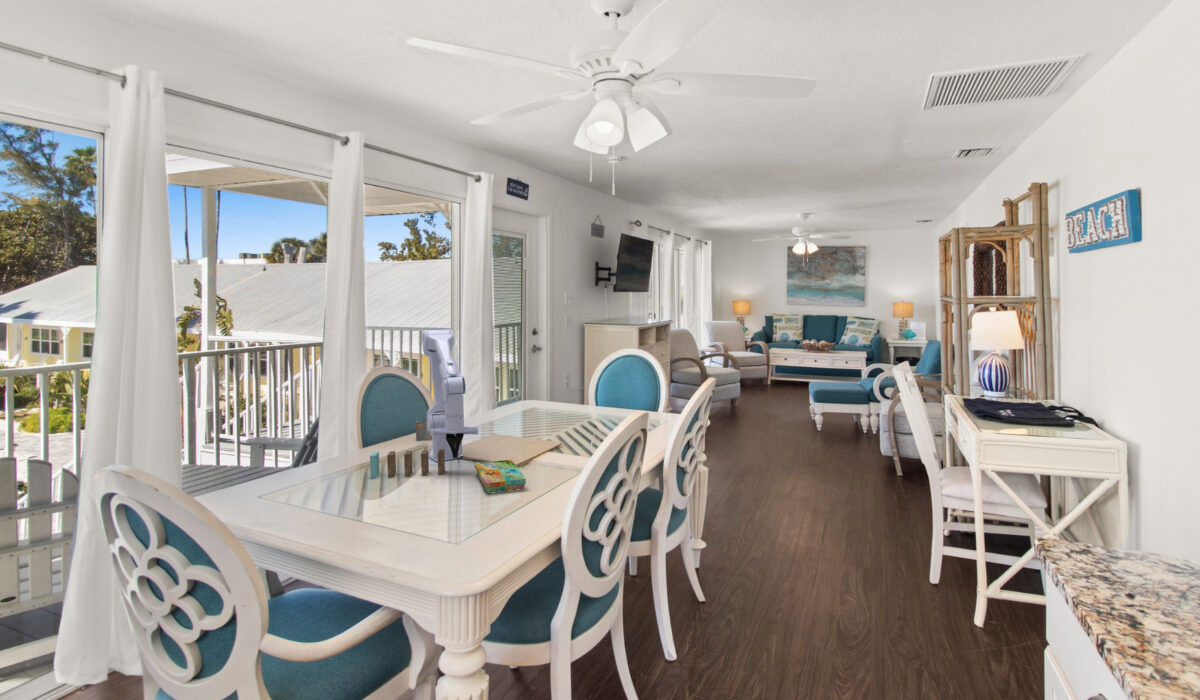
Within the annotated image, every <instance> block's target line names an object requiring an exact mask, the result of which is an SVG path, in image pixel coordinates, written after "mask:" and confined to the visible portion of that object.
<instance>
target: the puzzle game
mask: <svg viewBox="0 0 1200 700" xmlns="http://www.w3.org/2000/svg"><path fill="white" fill-rule="evenodd" d="M474 470H475V471H476V473H477V476H479V479H480V481H481V483H482V485H483V487H484V490H485V491H486V492H487V494H493V493H492V492H498V493H500V492H499V491H506V492H509V491H508V490H514V491H518V490H517V489H521V490H522V489H523V487H525V485H526V484H527V481H526V479H527V478H526V477H525V475H524V474H523V472H521V470H520V469H519V467H518V466H517V465H516V463H515V462H514V461H513V460H512V459H505V460H504V459H503V460H494V461H491V460H490V461H484V462H483V461H482V462H474Z"/></svg>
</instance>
